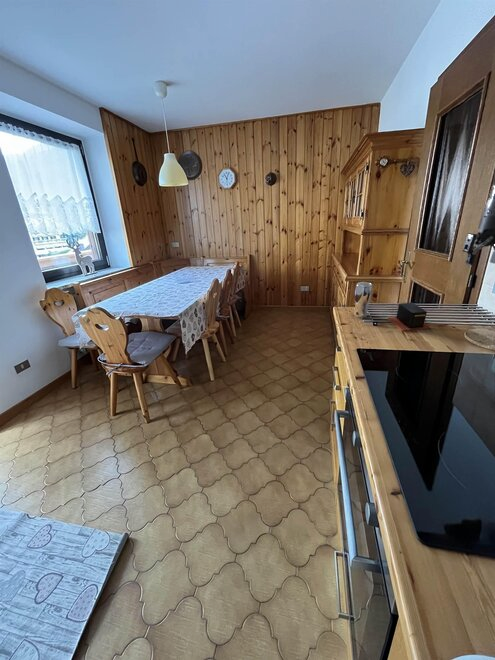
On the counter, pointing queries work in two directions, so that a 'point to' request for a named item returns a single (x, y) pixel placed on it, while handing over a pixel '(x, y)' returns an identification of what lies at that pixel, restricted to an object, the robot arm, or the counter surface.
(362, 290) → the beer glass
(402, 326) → the mat
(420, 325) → the glossy black box
